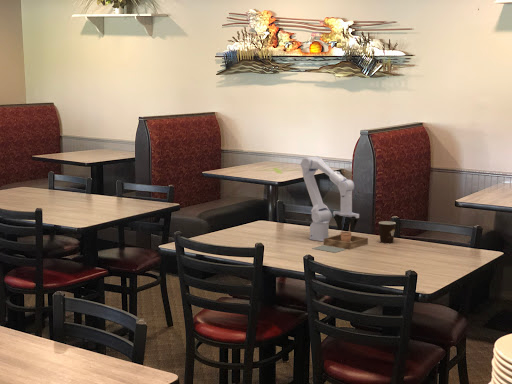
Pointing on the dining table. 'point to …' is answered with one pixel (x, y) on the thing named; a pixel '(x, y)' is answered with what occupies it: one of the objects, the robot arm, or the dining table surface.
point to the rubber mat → (329, 249)
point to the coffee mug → (387, 231)
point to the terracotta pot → (345, 236)
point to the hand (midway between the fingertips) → (346, 230)
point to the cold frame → (337, 242)
